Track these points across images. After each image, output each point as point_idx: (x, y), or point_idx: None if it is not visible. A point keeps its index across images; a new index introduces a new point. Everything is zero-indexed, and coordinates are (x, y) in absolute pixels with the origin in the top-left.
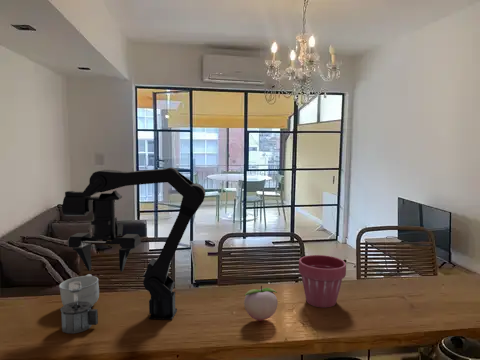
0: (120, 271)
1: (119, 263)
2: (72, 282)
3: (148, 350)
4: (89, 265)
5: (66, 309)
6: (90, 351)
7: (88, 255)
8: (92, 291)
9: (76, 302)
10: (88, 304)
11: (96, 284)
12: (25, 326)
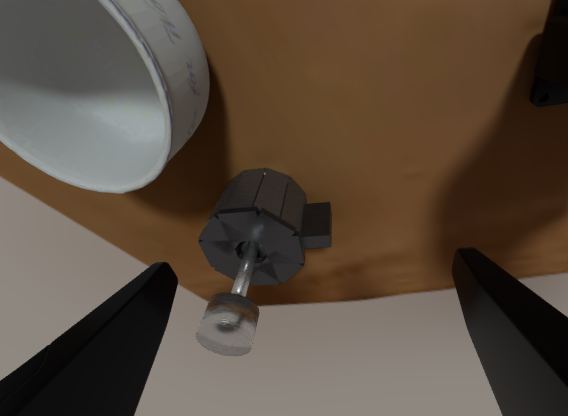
0: (453, 274)
1: (492, 387)
2: (205, 337)
3: (538, 276)
4: (158, 317)
5: (235, 269)
6: (379, 289)
7: (80, 411)
8: (189, 109)
9: (252, 270)
10: (280, 230)
11: (165, 72)
12: (132, 223)
